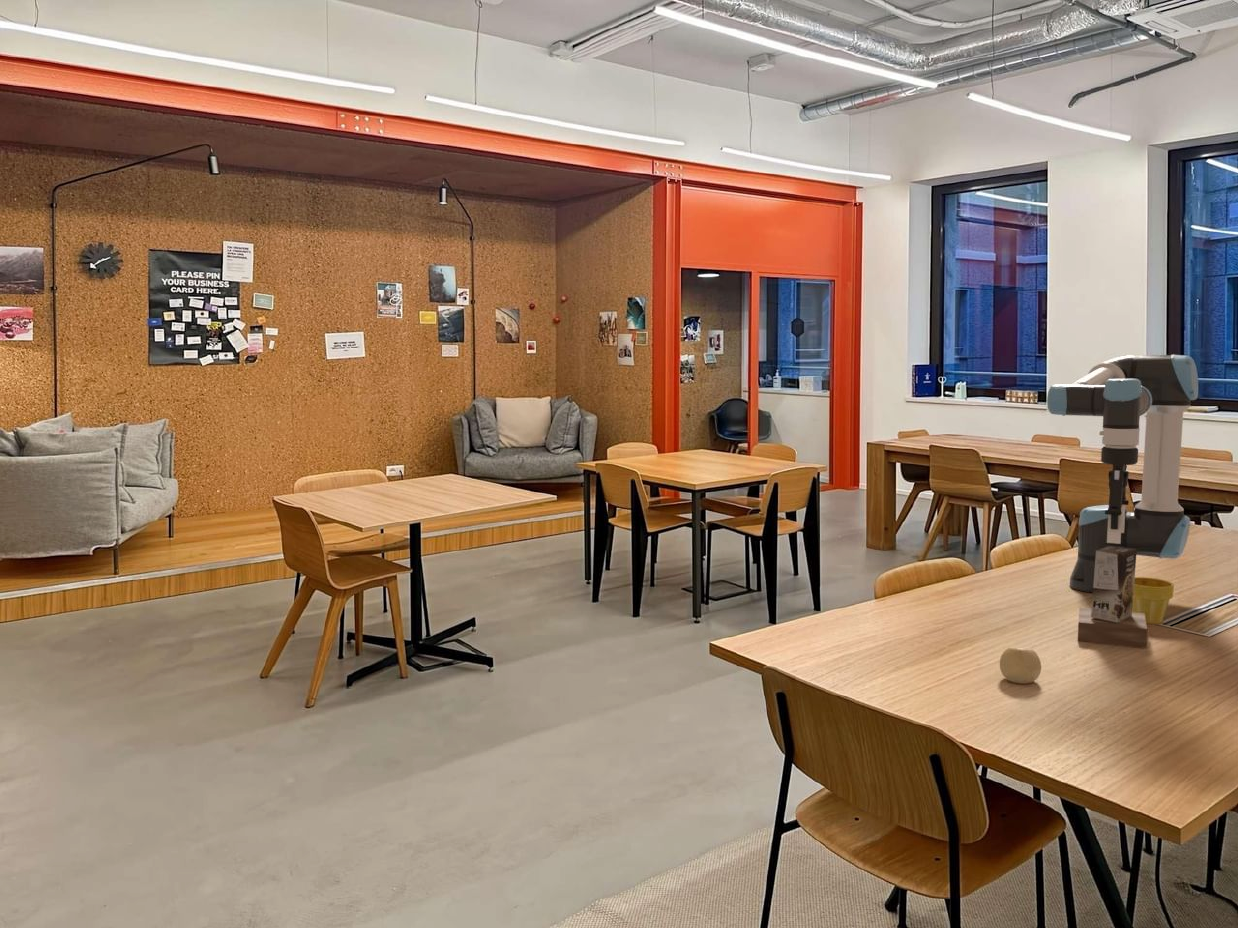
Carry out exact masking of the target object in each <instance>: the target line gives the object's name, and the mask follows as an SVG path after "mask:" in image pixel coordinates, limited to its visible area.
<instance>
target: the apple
mask: <svg viewBox="0 0 1238 928" xmlns="http://www.w3.org/2000/svg"><path fill="white" fill-rule="evenodd" d="M1040 659H1041V658H1040V657H1039V655H1038V653H1037V652H1036V651H1035V650H1033V649H1032V648H1025V647H1008V648H1006V649H1005V650H1004V651H1003V652H1002V654H1001V656H1000V658H999V669H1000V672H1001V674H1002V676H1003V677H1004V678H1005V679H1006V680H1007V681H1009V682H1010V683H1014V684H1020V685H1021V684H1024V685H1025V684H1031V683H1033V682H1034V681H1037V679H1038V678H1039V677H1040V675H1041V672H1042V663H1041V660H1040Z"/></svg>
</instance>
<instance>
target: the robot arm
mask: <svg viewBox="0 0 1238 928" xmlns="http://www.w3.org/2000/svg"><path fill="white" fill-rule="evenodd" d="M1046 396H1047V397H1046V399H1047V400H1046V406H1047V409H1048V412H1049V413H1050V414H1051V415H1054V416H1055V415H1056V416H1057V415H1058V416H1063V417H1064V416H1079V417H1080V416H1083V417H1084V416H1087V417H1102V431H1101V430H1100V431H1099V436H1102V437H1101V444H1102V445H1104V446H1102V447H1101V452H1100V455H1101V456H1100V461H1101V462H1102V463H1103V464H1106V465H1112V469H1111V470H1109V472H1108V489H1109V497H1108V499H1109V500H1108V504H1103V505H1102V504H1100V505H1092V506H1088V507H1085V508H1083V509H1082V510H1081V511H1080V512H1079V521H1078V524H1077V526H1078V537H1077V538H1078V541H1077V542H1078V543H1077V559H1076V562H1075V565H1074V567H1073V569H1072V572H1071V575H1070V576H1069V587H1071V588H1072V589H1074V590H1078V591H1080V592H1081V591H1082V592H1086V593H1092V594H1093V583H1094V570H1095V557H1096V550H1099V549H1102V548H1105V547H1108V546H1114V547H1124V548H1132V549H1137V553H1136V556H1142V557H1151V558H1159V559H1171V560H1174V559H1175V560H1176V559H1178V558H1180V557H1181V555H1182V554H1183V553H1184V550H1185V547H1186V544H1187V541H1188V538H1189V533H1190V529H1191V518H1190V517H1189V516H1187V515H1184V514H1185V513H1184V511H1185V510H1184V508H1183V506H1181V504H1180V503H1179V488H1180V487H1179V486H1180V485H1179V484H1180V470H1181V455H1182V453H1181V452H1182V439H1183V438H1182V437H1183V421H1184V413H1185V412H1186V411H1187V410H1188V409H1189V408H1190V407H1191V401H1196V400H1197V399H1198V397H1199V375H1198V370H1197V365H1196V363H1195V361H1194V359H1193V358H1192V357H1191V356H1189V355H1184V354H1183V355H1181V354H1174V353H1173V354H1169V355H1168V354H1155V355H1154V354H1150V355H1149V354H1147V355H1146V354H1145V355H1144V354H1143V355H1141V354H1139V355H1138V354H1133V355H1132V354H1131V355H1122V356H1118V357H1114V358H1112V359H1111V358H1110V359H1108V360H1105V361H1103V362H1100V363H1098V364H1096V365H1094V366H1093V367H1092V368H1091V369H1090V370H1089V372H1087V374H1086V375H1085V376H1083V377H1081V378H1080V379H1078V380H1076V381H1074V382H1073V383H1071V384H1065V383H1062V384H1060V383H1059V384H1052V385H1051V386H1050V387H1049V389H1048V392H1047V395H1046ZM1145 414H1146V417H1145V430H1144V431H1145V433H1144V434H1145V435H1144V436H1145V437H1144V451H1143V453H1144V454H1143V467H1142V468H1143V470H1142V484H1141V485H1142V486H1141V487H1142V488H1141V500H1140V501H1139V502H1138V503H1136V504H1135V505H1134V511H1128V508H1127V506H1129V500H1128V499H1127V494H1126V493H1127V492H1126V490H1127V486H1128V479H1129V476H1130V475H1129V470H1128V471H1127V468H1128V466H1131V465H1136V464H1138V462H1139V460H1138V459H1139V449H1138V447H1137V446H1138V445H1140V419H1141V418H1140V417H1141V416H1144V415H1145Z"/></svg>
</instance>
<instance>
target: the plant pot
mask: <svg viewBox="0 0 1238 928" xmlns="http://www.w3.org/2000/svg"><path fill="white" fill-rule="evenodd" d="M1174 586H1175V584H1174V583H1173V582H1171V581H1169V580H1165V579H1162V578H1157V577H1156V578H1155V577H1150V576H1149V577H1147V576H1135V580H1134V595H1133V609H1132V612H1134V613H1145V619H1146V624H1148V625H1149V624H1150V625H1151V624H1152V625H1154V624H1155V625H1157V624H1158V625H1159V624H1161V623H1163V620H1164V619H1165V618H1164V617H1165V614H1166V612H1167V608H1168V605H1169V603H1170V600H1171V599H1172V598H1173V597H1174Z"/></svg>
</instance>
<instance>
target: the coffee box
mask: <svg viewBox="0 0 1238 928" xmlns="http://www.w3.org/2000/svg"><path fill="white" fill-rule="evenodd" d="M1136 553H1137V549H1132V548H1124V547H1114V546H1108V547H1105V548H1102V549H1099V550H1096V557H1095V570H1094V583H1093V593H1092V596H1091V597H1092V599H1091V608H1092V610H1091V617H1092V618H1096V619H1102V620H1106V621H1111V622H1115V623H1119V622H1121V621H1123V620H1125V619H1126V618H1128V617H1131V616H1132V609H1133V595H1134V580H1135V577H1136V566H1137V565H1136V564H1137V562H1136V561H1137V555H1136Z"/></svg>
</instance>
